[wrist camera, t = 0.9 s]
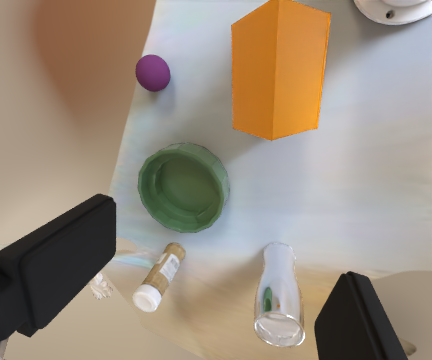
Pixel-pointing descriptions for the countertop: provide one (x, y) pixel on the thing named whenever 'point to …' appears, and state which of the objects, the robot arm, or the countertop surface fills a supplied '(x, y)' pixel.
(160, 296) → the sprinkles bottle
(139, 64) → the ball
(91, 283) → the acanthus leaf ornament
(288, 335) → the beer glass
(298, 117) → the orange juice
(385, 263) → the countertop surface
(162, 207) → the bowl
